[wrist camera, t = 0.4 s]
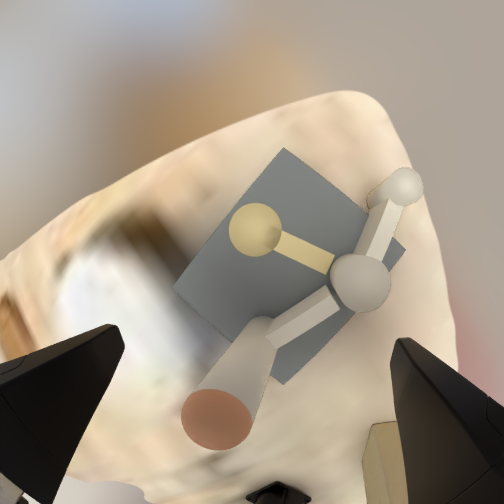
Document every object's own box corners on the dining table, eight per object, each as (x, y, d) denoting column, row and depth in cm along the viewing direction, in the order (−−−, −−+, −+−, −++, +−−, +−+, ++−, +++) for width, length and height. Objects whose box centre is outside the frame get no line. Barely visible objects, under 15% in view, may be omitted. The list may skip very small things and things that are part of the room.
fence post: (319, 274, 22) (339, 325, 8) (339, 305, 22) (383, 394, 8) (238, 327, 24) (155, 419, 9) (258, 355, 23) (201, 468, 9)
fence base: (357, 300, 23) (376, 323, 16) (321, 283, 24) (328, 300, 16) (400, 199, 22) (434, 182, 15) (366, 181, 22) (389, 156, 15)
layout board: (284, 380, 24) (283, 385, 23) (176, 286, 26) (171, 287, 25) (402, 249, 22) (406, 249, 21) (284, 151, 24) (283, 146, 23)
